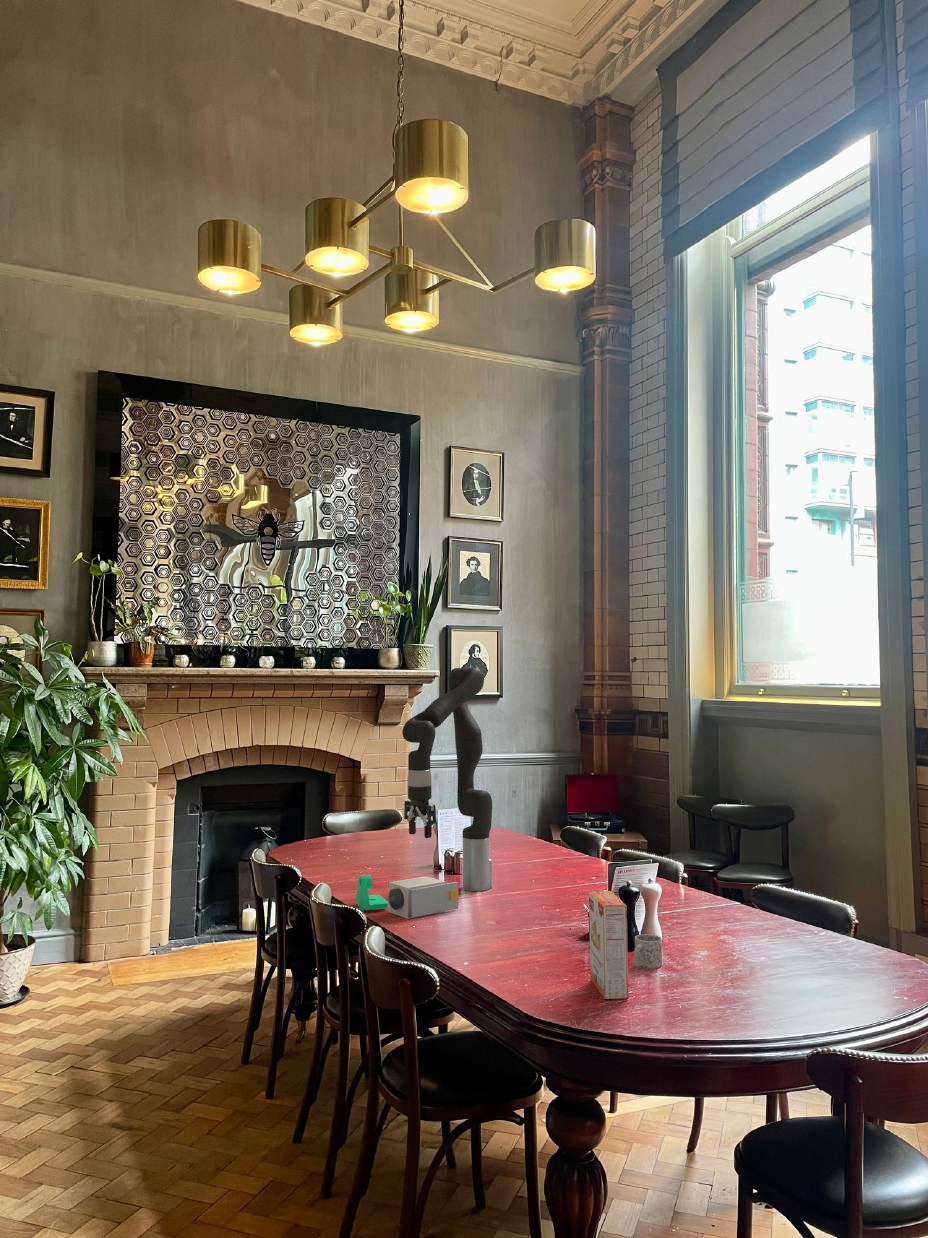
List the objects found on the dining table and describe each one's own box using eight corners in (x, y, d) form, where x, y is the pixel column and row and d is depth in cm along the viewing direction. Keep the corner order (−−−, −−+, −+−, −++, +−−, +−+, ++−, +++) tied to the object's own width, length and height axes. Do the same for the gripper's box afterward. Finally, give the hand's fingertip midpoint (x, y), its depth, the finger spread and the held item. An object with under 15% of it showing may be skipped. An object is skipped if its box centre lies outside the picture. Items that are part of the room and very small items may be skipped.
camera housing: (425, 905, 290) (425, 876, 291) (445, 911, 283) (445, 881, 283) (384, 913, 281) (385, 883, 281) (403, 919, 273) (403, 888, 273)
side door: (456, 908, 285) (456, 881, 285) (459, 909, 283) (459, 882, 284) (408, 917, 274) (408, 890, 274) (412, 918, 272) (412, 891, 273)
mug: (643, 959, 234) (642, 933, 235) (666, 964, 230) (666, 937, 231) (623, 969, 227) (623, 941, 227) (647, 974, 223) (647, 946, 223)
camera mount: (389, 912, 283) (389, 878, 284) (364, 914, 280) (365, 879, 281) (379, 903, 294) (379, 870, 295) (355, 905, 291) (355, 872, 292)
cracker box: (588, 980, 218) (587, 890, 219) (613, 979, 219) (612, 890, 220) (602, 1001, 204) (601, 905, 206) (629, 1000, 205) (628, 904, 206)
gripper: (442, 785, 287) (443, 837, 286) (416, 781, 298) (417, 831, 297) (422, 787, 282) (423, 840, 282) (397, 783, 294) (397, 834, 293)
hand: (420, 836), depth 289 cm, fingers open, 8 cm apart
